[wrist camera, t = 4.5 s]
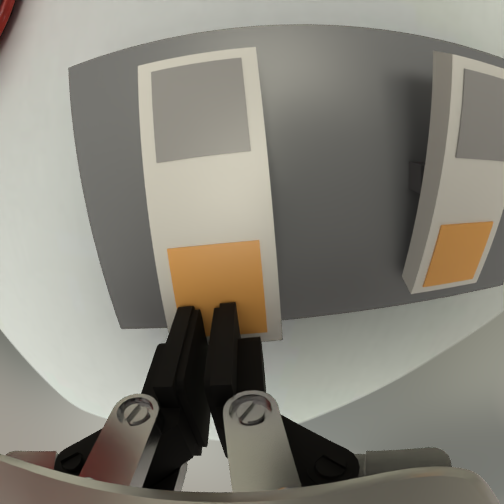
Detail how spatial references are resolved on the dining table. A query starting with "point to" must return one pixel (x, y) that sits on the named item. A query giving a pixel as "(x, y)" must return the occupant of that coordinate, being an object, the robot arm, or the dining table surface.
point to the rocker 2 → (459, 176)
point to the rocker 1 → (210, 188)
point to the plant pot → (5, 12)
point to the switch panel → (285, 163)
